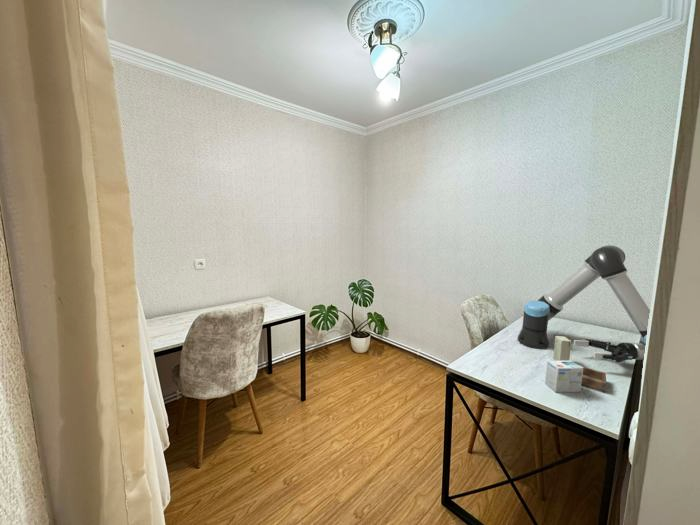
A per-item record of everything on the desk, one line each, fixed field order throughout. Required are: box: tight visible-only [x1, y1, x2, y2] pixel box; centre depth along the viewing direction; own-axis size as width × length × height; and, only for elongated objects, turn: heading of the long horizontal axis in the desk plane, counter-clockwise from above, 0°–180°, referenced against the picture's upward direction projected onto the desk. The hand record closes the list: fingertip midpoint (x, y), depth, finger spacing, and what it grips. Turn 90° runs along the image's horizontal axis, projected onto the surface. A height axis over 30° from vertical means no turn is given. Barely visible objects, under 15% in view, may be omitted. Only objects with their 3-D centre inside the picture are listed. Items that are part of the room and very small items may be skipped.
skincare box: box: [553, 335, 572, 361], centre depth 139 cm, size 6×4×12 cm
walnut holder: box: [580, 365, 607, 394], centre depth 122 cm, size 11×11×4 cm
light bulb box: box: [544, 359, 584, 393], centre depth 117 cm, size 11×7×11 cm, turn 92°
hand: (583, 348), depth 138 cm, fingers open, 13 cm apart
